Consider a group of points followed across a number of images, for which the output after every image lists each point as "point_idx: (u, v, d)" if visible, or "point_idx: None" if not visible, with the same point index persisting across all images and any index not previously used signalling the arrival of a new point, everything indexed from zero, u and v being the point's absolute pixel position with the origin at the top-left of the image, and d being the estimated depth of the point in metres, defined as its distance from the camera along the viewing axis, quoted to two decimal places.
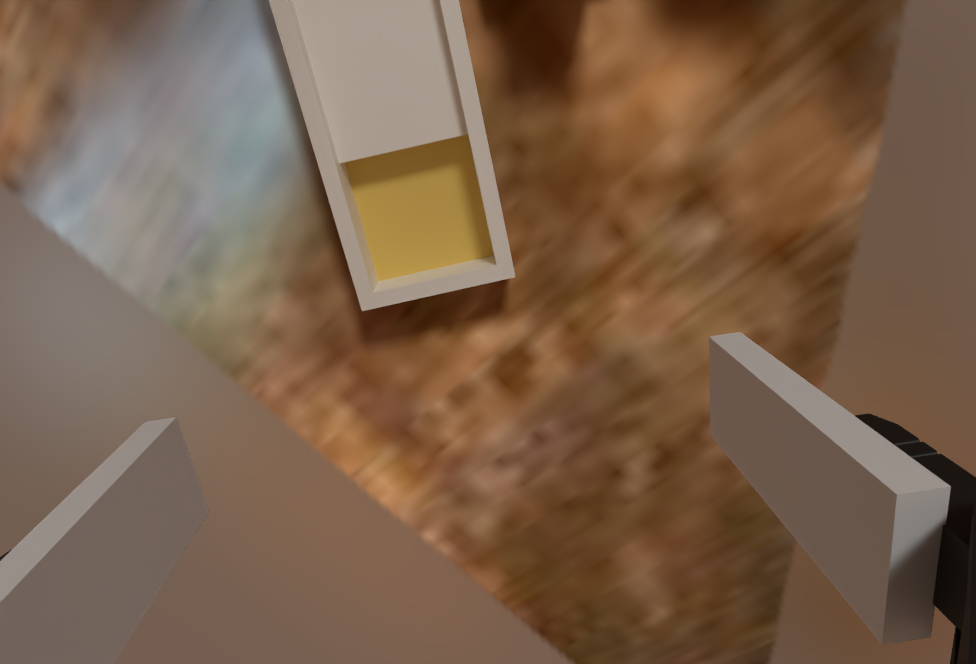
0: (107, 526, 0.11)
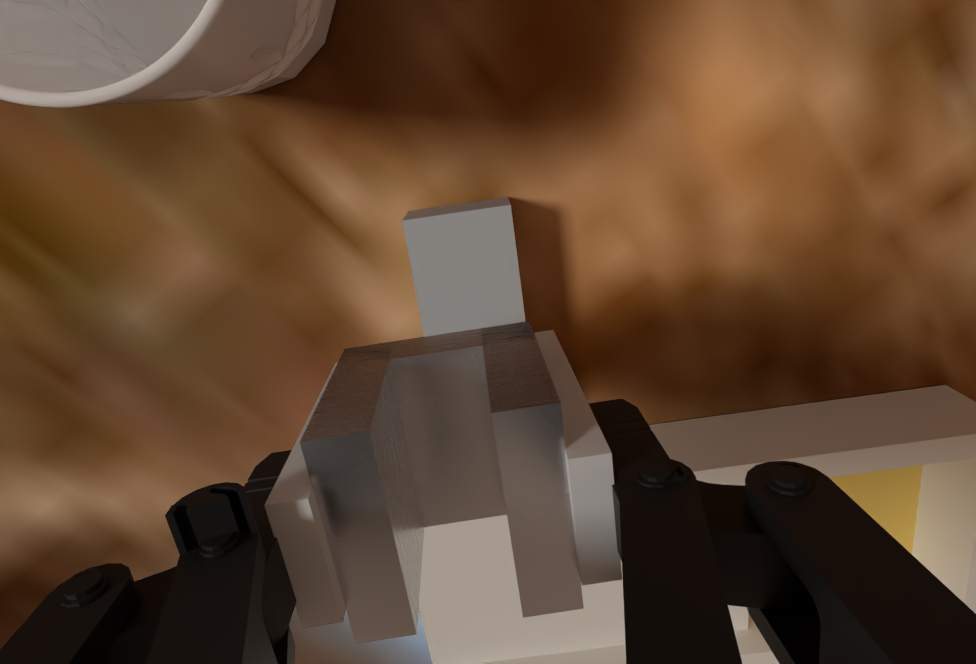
0: None
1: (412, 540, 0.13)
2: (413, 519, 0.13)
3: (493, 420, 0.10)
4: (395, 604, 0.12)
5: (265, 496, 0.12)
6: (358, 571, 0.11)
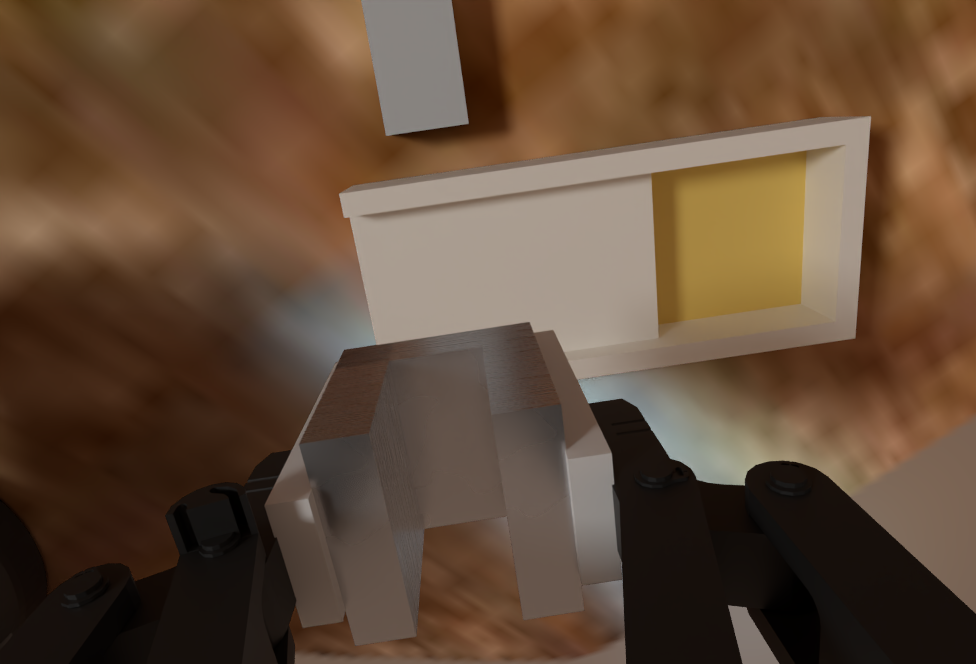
0: None
1: (412, 542, 0.13)
2: (413, 521, 0.13)
3: (493, 422, 0.10)
4: (395, 606, 0.11)
5: (265, 496, 0.12)
6: (358, 573, 0.11)
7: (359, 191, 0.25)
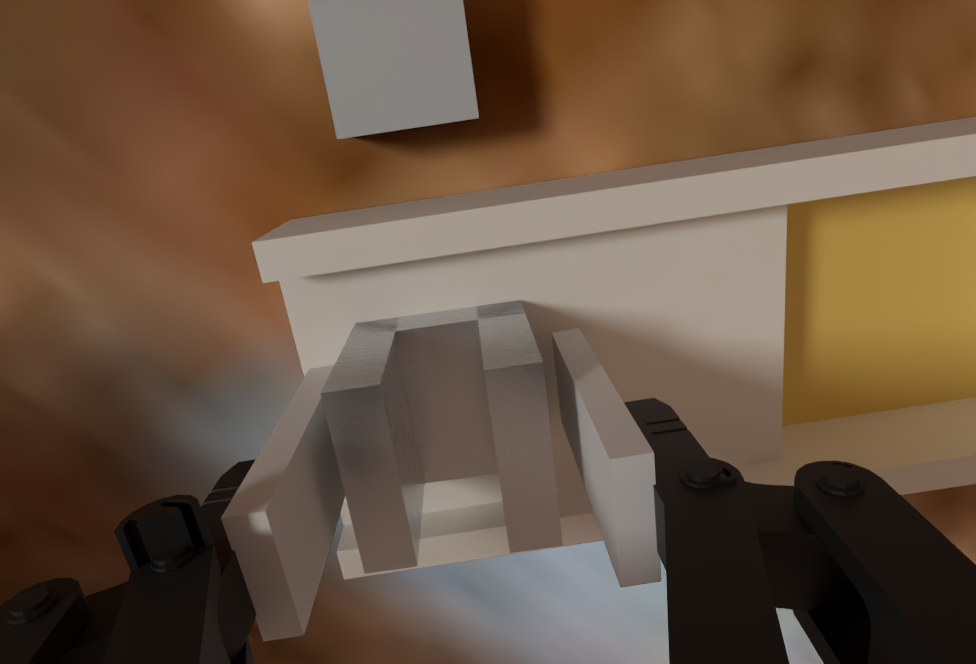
0: (314, 447, 0.13)
1: (414, 489, 0.15)
2: (415, 472, 0.15)
3: (485, 376, 0.12)
4: (399, 539, 0.13)
5: (227, 507, 0.12)
6: (368, 508, 0.13)
7: (288, 237, 0.14)
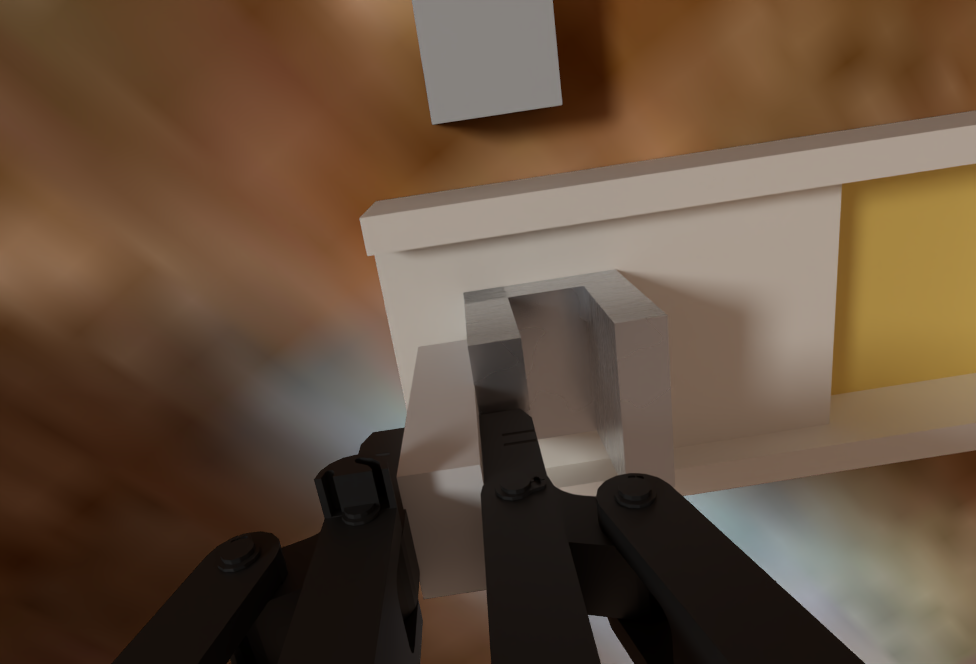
0: None
1: None
2: None
3: (615, 329, 0.13)
4: None
5: None
6: None
7: (392, 213, 0.16)
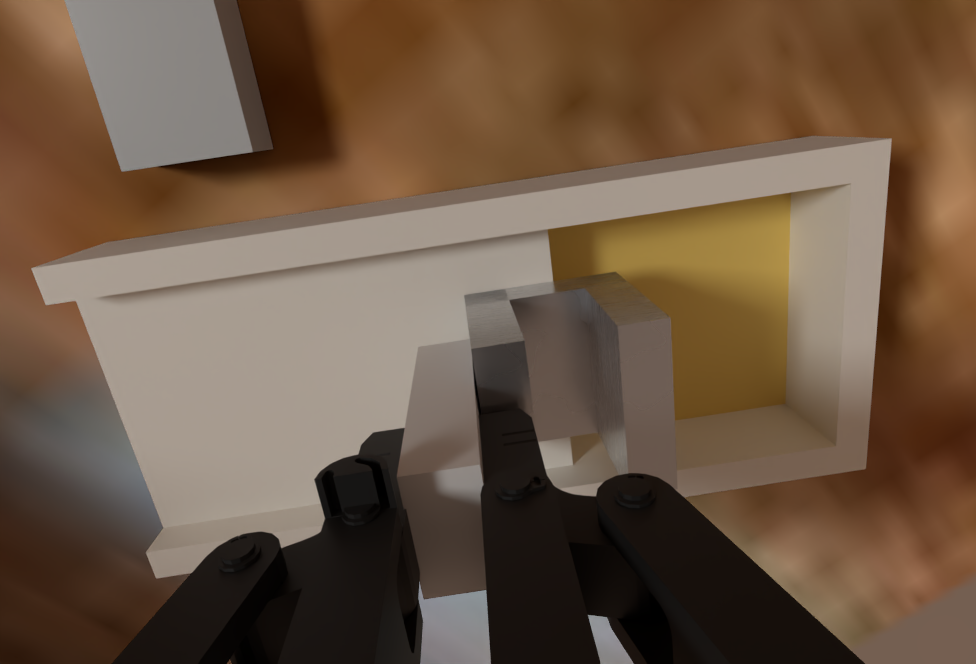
0: None
1: None
2: None
3: (619, 331, 0.13)
4: None
5: None
6: None
7: (66, 263, 0.16)
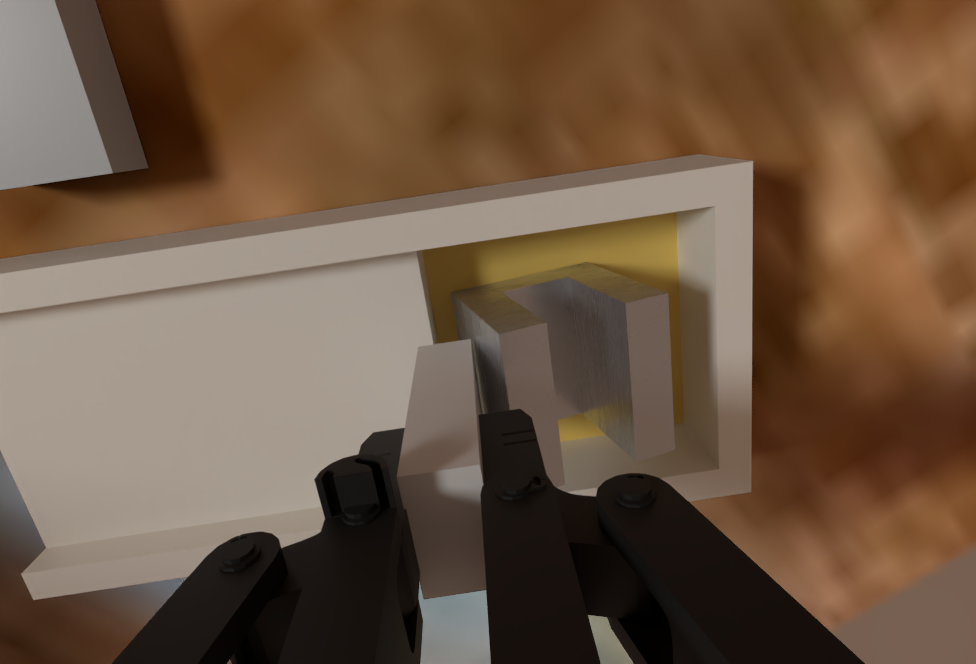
0: None
1: None
2: None
3: (627, 308, 0.15)
4: (552, 461, 0.15)
5: None
6: None
7: None
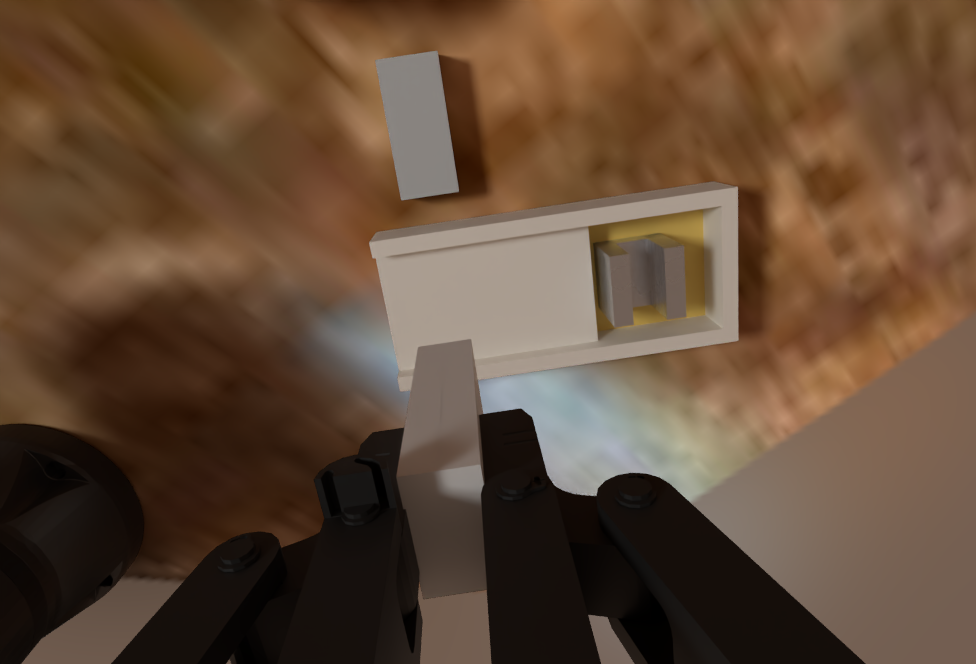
0: None
1: None
2: None
3: (664, 250, 0.36)
4: (628, 313, 0.37)
5: None
6: (619, 300, 0.37)
7: (383, 240, 0.36)
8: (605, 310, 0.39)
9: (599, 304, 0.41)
